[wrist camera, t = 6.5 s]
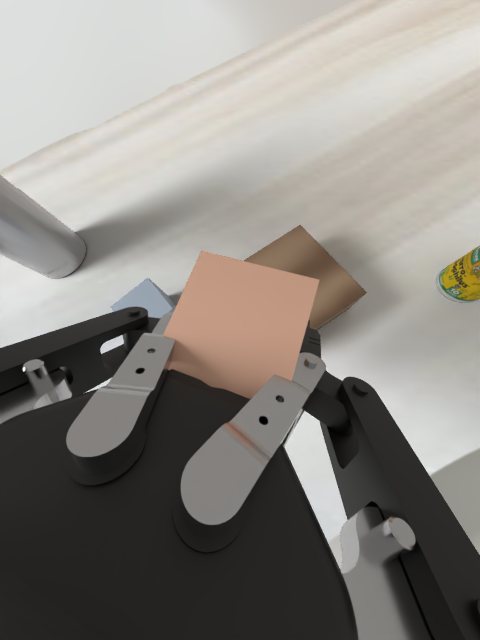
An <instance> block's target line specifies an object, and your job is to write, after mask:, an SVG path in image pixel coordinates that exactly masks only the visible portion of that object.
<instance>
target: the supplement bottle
mask: <svg viewBox="0 0 480 640" xmlns="http://www.w3.org/2000/svg"><path fill="white" fill-rule="evenodd" d="M436 284H437V287H438V289H439V291H440V292H441V293H442V294H443V295H445V296H446V297H447V298H449V299H451V300H453V301H456V302H471V301H474V300H477V299H480V246H478V247H477V248H475V249H474V250H472V251H471V252H469V253H468V254H466V255H465V256H463V257H462V258H460V259H458V260H457V261H455V262H454V263H452V264H451V265H449V266H448V267H446V268H445V269H443V270H442V271H441V272H440V273H439V274H438V276H437V279H436Z"/></svg>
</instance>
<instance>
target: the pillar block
mask: <svg viewBox="0 0 480 640" xmlns="http://www.w3.org/2000/svg"><path fill="white" fill-rule="evenodd" d="M318 284H319V280H318V279H314V278H310V277H306V276H302V275H298V274H294V273H290V272H286V271H282V270H278V269H274V268H270V267H265V266H261V265H257V264H253V263H249V262H245V261H241V260H237V259H233V258H229V257H225V256H221V255H217V254H213V253H209V252H204V251H201V253H200V255H199V257H198V259H197V261H196V264H195V266H194V268H193V270H192V272H191V275H190V277H189V279H188V281H187V283H186V286H185V288H184V290H183V292H182V295H181V297H180V299H179V301H178V303H177V306H176V308H175V310H174V312H173V314H172V317H171V319H170V321H169V323H168V325H167V328H166V330H165V332H164V334H163V336H166V337H170V338H173V339H176V341H175V347H174V352H173V357H172V362H171V364H170V366H169V368H168V370H171V369H174V370H176V371H179V372H182V373H184V374H187V375H189V376H192V377H195V378H197V379H200V380H202V381H203V382H204V383H206V384H207V385H209V386H211V387H215V388H222V389H226V390H228V391H231V392H233V393H236V394H239V395H241V396H244V397H246V398H249V399H252V398H253V397H254V395H255V394H256V393H257V392H258V391H259V390H260V389H261V388H262V387H263V386H264V385H265V384H266V383H267V381H268V380H269V379H270V378H271V377H272V376H273V375H274V374H275V375H278V376H281V377H283V378H286V379H288V380H290V381H292V378H293V374H294V371H295V367H296V363H297V360H298V356H299V353H300V349H301V345H302V342H303V338H304V335H305V331H306V327H307V324H308V320H309V316H310V313H311V309H312V306H313V302H314V298H315V295H316V291H317V288H318Z"/></svg>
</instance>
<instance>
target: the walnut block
mask: <svg viewBox="0 0 480 640" xmlns="http://www.w3.org/2000/svg"><path fill="white" fill-rule="evenodd" d="M244 261H245V262H249V263H253V264H257V265H261V266H265V267H270V268H274V269H278V270H282V271H286V272H290V273H294V274H298V275H302V276H306V277H310V278H314V279H318V280H319V284H318V288H317V291H316V295H315V298H314V302H313V306H312V309H311V313H310V316H309V320H310V328H311V329H315V330H318V329H320V328H321V327H323V326H324V325H326V324H327V323H329V322H330V321H331V320H333V319H334V318H336V317H337V316H339V315H340V314H342V313H343V312H345V311H346V310H348V309H349V308H350V307H351V306H352V305H353V304H354V303H356V302H357V301H358V300H359V299H360V298H361V297H362V296H363V295H365V294H366V293H367V292H366V291H365V290H364V289H363V288H362V287H361V286H360V285H359V284H358V283H357V282H356V281H355V280H354V279H353V278H352V277H351V276H350V275H349V274H348V273H347V272H346V271H345V270H344V269H343V268H342V267H341V266H340V265H339V264H338V263H337V262H336V261H335V260H334V259H333V258H332V257H331V256H330V255H329V254H328V253H327V252H326V251H325V250H324V249H323V248H322V246H321V245H320V244H319V243H318V242H317V241H316V240H315V239H314V238H313V237H312V236H311V235H310V234H309V233H308V232H307V231H306V230H305V229H304V228H303V227H302V226H301V225H299V226H298V227H296V228H294V229H293V230H291V231H290V232H288V233H287V234H285V235H283V236H282V237H280V238H279V239H277V240H276V241H274V242H272V243H271V244H269V245H268V246H266V247H264V248H263V249H261V250H260V251H258V252H257V253H255V254H253V255H252V256H250V257H249V258H247V259H246V260H244Z"/></svg>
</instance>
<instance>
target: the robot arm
mask: <svg viewBox="0 0 480 640" xmlns="http://www.w3.org/2000/svg"><path fill="white" fill-rule="evenodd" d="M0 254H1V255H3V256H5V257H7V258H9V259H11V260H13V261H15V262H17V263H19V264H21V265H23V266H25V267H28V268H30V269H32V270H34V271H36V272H38V273H40V274H42V275H44V276H46V277H49V278H62V277H64V276H67V275H69V274H70V273H72V272H73V271H75V270H76V269H77V268H78V267H79V266H80V264H81V263H82V261H83V259H84V257H85V254H86V245H85V242H84V241H83V240H82V239H81V238H80V237H79V236H77V235H76V234H75V233H74V232H73V231H72V230H71V229H70V228H68V227H67V226H66V225H64V224H63V223H62V222H61V221H59V220H58V219H57V218H56V217H54V216H53V215H52V214H50V213H49V212H48V211H47V210H45V209H44V208H43V207H42V206H40V205H39V204H38V203H36V202H35V201H34V200H33V199H31V198H30V197H29V196H28V195H26V194H25V193H24V192H22V191H21V190H20V189H18V188H16V187H15V186H14V185H12V184H11V183H10V182H8V181H7V180H6V179H5V178H3V177H2V176H1V175H0ZM172 314H173V312H168V313H166V314H164V315H163V316H162V317H161V318H154V317H148V310H147V309H145V308H143V307H136V306H135V307H127V308H124V309H121V310H118V311H115V312H112V313H108V314H105V315H102V316H99V317H96V318H93V319H90V320H87V321H84V322H80V323H77V324H74V325H71V326H68V327H65V328H62V329H59V330H56V331H52V332H49V333H46V334H43V335H40V336H37V337H34V338H31V339H28V340H24V341H21V342H18V343H15V344H12V345H9V346H6V347H3V348H0V640H480V555H479V554H478V552H477V550H476V549H475V547H474V546H473V544H472V543H471V541H470V539H469V538H468V536H467V535H466V533H465V531H464V530H463V528H462V527H461V525H460V524H459V522H458V520H457V519H456V517H455V516H454V514H453V512H452V511H451V509H450V508H449V506H448V505H447V503H446V501H445V500H444V498H443V497H442V495H441V493H440V492H439V490H438V489H437V487H436V486H435V484H434V482H433V481H432V479H431V478H430V476H429V475H428V473H427V471H426V470H425V468H424V467H423V465H422V463H421V462H420V460H419V459H418V457H417V456H416V454H415V452H414V451H413V449H412V448H411V446H410V444H409V443H408V441H407V440H406V438H405V437H404V435H403V433H402V432H401V430H400V429H399V427H398V426H397V424H396V422H395V421H394V419H393V418H392V416H391V414H390V413H389V411H388V410H387V408H386V407H385V405H384V403H383V402H382V400H381V399H380V397H379V396H378V394H377V392H376V391H375V390H374V389H373V387H371V386H370V385H369V384H368V383H366V382H365V381H363V380H361V379H358V378H355V377H346V378H345V379H344V380H343V381H341V380H339V379H338V378H336V377H334V376H332V375H331V374H330V373H328V372H327V371H326V365H325V363H324V362H323V360H322V359H321V346H320V334H319V333H318V331H317V330H315V329H311V328H310V320H308V324H307V327H306V331H305V335H304V338H303V342H302V345H301V349H300V353H299V356H298V360H297V363H296V367H295V371H294V374H293V378H292V381H290V380H288V379H286V378H283V377H281V376H278V375H275V374H274V375H273V376H272V377H271V378H270V379H269V380H268V381H267V383H266V384H265V385H264V386H263V387H262V388H261V389H260V390H259V391H258V392H257V393H256V394H255V395H254V397H253V398H252V399H249V398H246V397H244V396H241V395H239V394H236V393H233V392H231V391H228V390H226V389H222V388H215V387H211V386H209V385H207V384H206V383H204V382H203V381H202V380H200V379H197V378H195V377H192V376H189V375H187V374H184V373H182V372H179V371H176V370H174V369H171V370H168V368H169V366H170V364H171V362H172V357H173V352H174V347H175V341H176V339H173V338H170V337H166V336H163V334H164V332H165V330H166V328H167V325H168V323H169V321H170V319H171V317H172ZM120 335H123V340H124V344H123V345H121V346H118V347H116V348H114V349H112V350H110V351H108V352H105V353H103V354H101V352H100V348H101V346H102V344H103V343H105V342H106V341H108V340H111V339H113V338H116V337H118V336H120ZM112 377H113V378H112ZM110 378H112V379H111V380H110V382H109V383H108V384H107V385H106V386H104V387H101V388H99V389H96V390H93V391H90V392H87V391H88V390H90V389H92V388H94V387H96V386H97V385H99V384H101V383H103V382H105V381H106V380H108V379H110ZM85 392H87V393H85ZM83 393H84V394H83ZM304 411H306V412H308V413H309V414H311V415H312V416H313V417H315V418H316V419H318V420H319V421H320V425H321V429H322V432H323V436H324V439H325V443H326V446H327V450H328V453H329V457H330V460H331V464H332V467H333V471H334V474H335V478H336V481H337V485H338V488H339V491H340V495H341V498H342V502H343V505H344V509H345V512H346V516H347V519H348V521H346V522H345V523H344V524H343V526H342V528H341V532H340V543H341V550H342V565H341V569H340V568H339V566H338V564H337V562H336V559H335V557H334V555H333V553H332V551H331V549H330V546H329V544H328V542H327V540H326V538H325V535H324V533H323V531H322V529H321V527H320V524H319V522H318V520H317V518H316V516H315V513H314V511H313V509H312V507H311V505H310V503H309V500H308V498H307V496H306V494H305V492H304V489H303V487H302V485H301V483H300V481H299V478H298V476H297V474H296V472H295V470H294V468H293V465H292V463H291V461H290V459H289V457H288V454H287V452H286V450H285V448H284V446H285V445H286V443H287V441H288V439H289V437H290V435H291V434H292V432H293V430H294V428H295V427H296V425H297V423H298V421H299V420H300V418H301V416H302V414H303V413H304Z"/></svg>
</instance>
